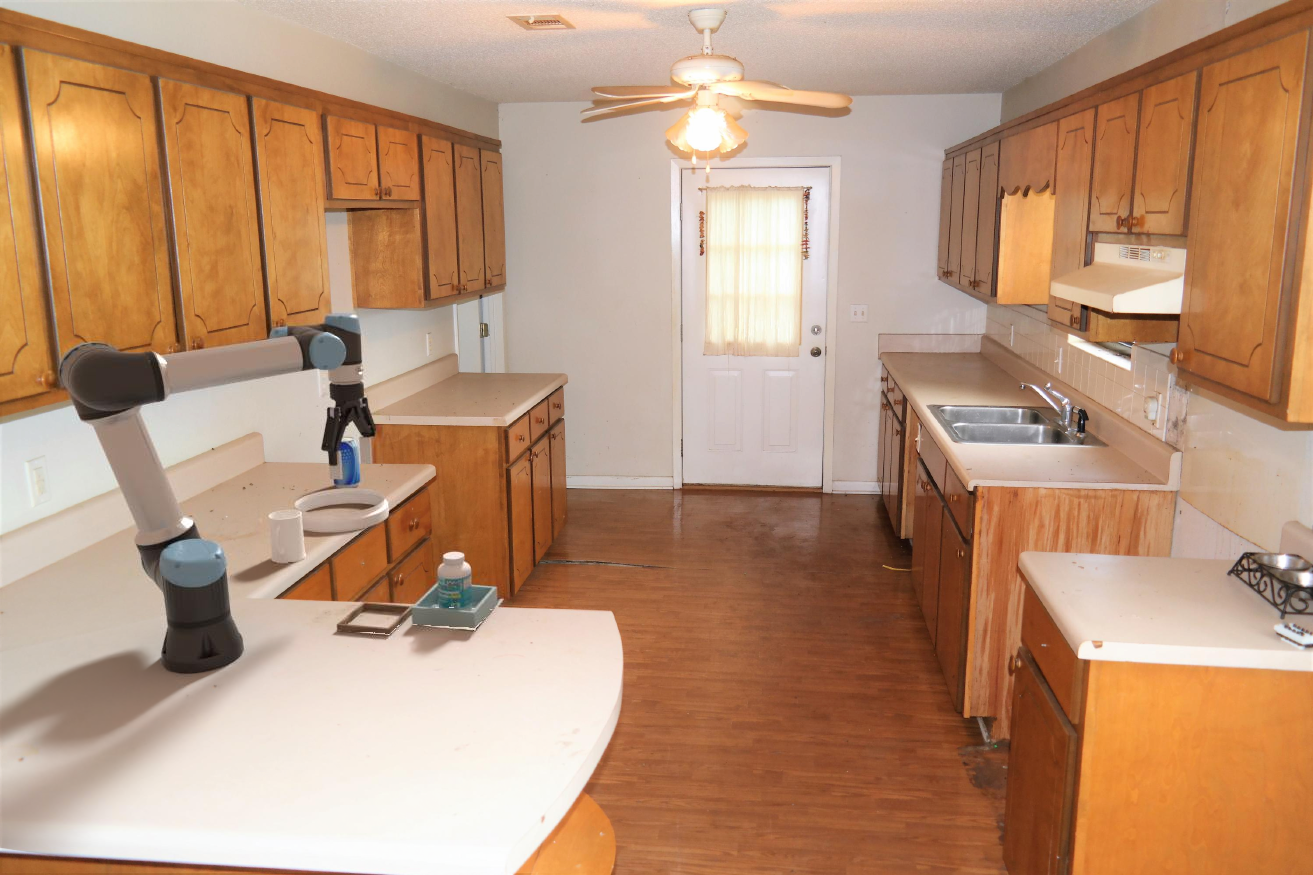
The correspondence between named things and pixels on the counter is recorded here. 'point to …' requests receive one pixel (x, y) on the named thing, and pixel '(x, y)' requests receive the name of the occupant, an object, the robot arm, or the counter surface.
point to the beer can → (349, 464)
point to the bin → (430, 615)
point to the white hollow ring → (345, 519)
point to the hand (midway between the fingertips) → (352, 470)
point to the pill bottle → (454, 582)
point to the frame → (405, 610)
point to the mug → (286, 536)
